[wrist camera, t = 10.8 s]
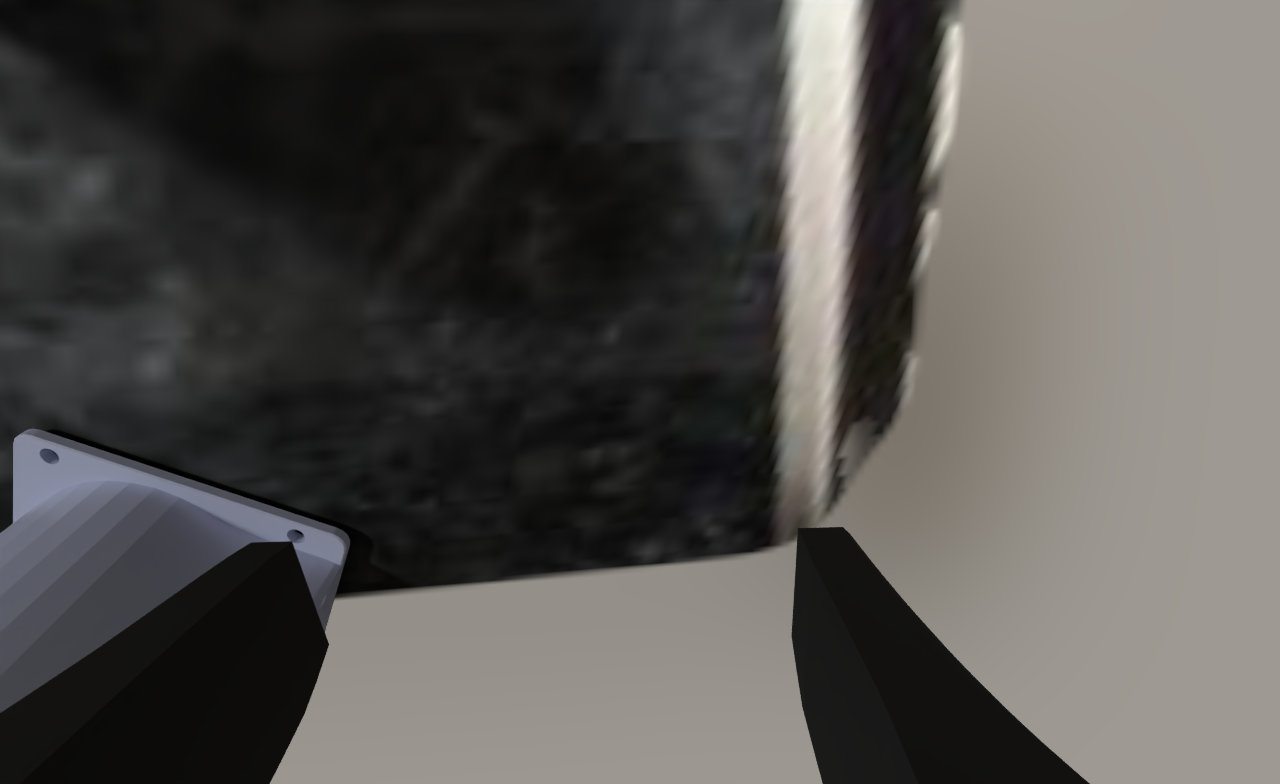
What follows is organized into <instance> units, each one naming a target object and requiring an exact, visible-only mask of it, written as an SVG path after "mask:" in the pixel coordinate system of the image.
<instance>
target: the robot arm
mask: <svg viewBox="0 0 1280 784" xmlns="http://www.w3.org/2000/svg"><path fill="white" fill-rule="evenodd" d="M53 451H54V452H55V453H56V454H55V453H54V452H53ZM295 530H299V531H300V532H302V533H303V534H304V535H301V534H299V533H297V532H296V531H295ZM349 547H350V539H349V537H348V535H347V534H346V533H345V532H344V531H343V530H341V529H339V528H336V527H333V526H330V525H327V524H324V523H321V522H318V521H315V520H312V519H309V518H306V517H303V516H300V515H297V514H294V513H291V512H288V511H285V510H282V509H279V508H276V507H273V506H270V505H267V504H263V503H260V502H257V501H254V500H251V499H248V498H245V497H242V496H239V495H236V494H233V493H230V492H227V491H224V490H221V489H218V488H215V487H212V486H209V485H206V484H203V483H200V482H197V481H194V480H191V479H188V478H185V477H182V476H179V475H176V474H173V473H169V472H166V471H163V470H160V469H157V468H154V467H151V466H148V465H145V464H142V463H139V462H136V461H133V460H130V459H127V458H124V457H121V456H118V455H115V454H112V453H109V452H106V451H103V450H100V449H97V448H94V447H91V446H88V445H85V444H82V443H78V442H75V441H72V440H69V439H66V438H63V437H60V436H57V435H54V434H51V433H48V432H45V431H42V430H38V429H29V430H26V431H25V432H23V433H22V434H20V435H19V436H17V437H16V438H15V440H14V443H13V524H12V525H10V526H9V527H8V528H7V529H5V530H4V531H3V532H1V533H0V784H270V782H271V780H272V778H273V776H274V774H275V772H276V770H277V768H278V766H279V764H280V762H281V760H282V758H283V756H284V754H285V752H286V750H287V748H288V746H289V744H290V742H291V740H292V738H293V736H294V734H295V732H296V730H297V728H298V726H299V724H300V722H301V720H302V718H303V716H304V714H305V711H306V708H307V705H308V703H309V700H310V698H311V695H312V692H313V690H314V687H315V684H316V682H317V679H318V676H319V673H320V670H321V667H322V664H323V661H324V658H325V655H326V652H327V649H328V646H329V643H328V640H327V638H326V635H325V629H326V626H327V622H328V619H329V615H330V612H331V609H332V605H333V602H334V598H335V595H336V591H337V588H338V585H339V581H340V578H341V574H342V571H343V567H344V564H345V561H346V557H347V554H348V550H349ZM792 641H793V649H794V655H795V662H796V669H797V675H798V682H799V688H800V694H801V701H802V707H803V711H804V715H805V718H806V722H807V726H808V730H809V733H810V737H811V741H812V745H813V749H814V753H815V756H816V760H817V764H818V768H819V771H820V775H821V779H822V783H823V784H1089V783H1088V782H1087V781H1086V780H1085V779H1083V778H1082V777H1081V776H1080V775H1079V774H1078V773H1077V772H1075V771H1074V770H1073V769H1072V768H1071V767H1070V766H1069V765H1067V764H1066V763H1065V762H1064V761H1063V760H1062V759H1061V758H1059V757H1058V756H1057V755H1056V754H1055V753H1054V752H1052V751H1051V750H1050V749H1049V748H1048V747H1047V746H1046V745H1045V744H1044V743H1042V742H1041V741H1040V740H1039V739H1038V738H1037V737H1036V736H1035V735H1034V734H1033V733H1032V732H1030V731H1029V730H1028V729H1027V728H1026V727H1025V726H1024V725H1023V724H1022V723H1021V722H1020V721H1019V720H1017V719H1016V718H1015V717H1014V716H1013V715H1012V714H1011V713H1010V712H1009V711H1008V710H1007V709H1006V708H1005V707H1004V706H1003V705H1002V704H1001V703H1000V702H999V701H998V700H997V699H996V698H995V697H994V696H993V695H992V694H991V693H990V692H989V691H988V690H987V689H986V688H985V687H984V686H983V685H982V684H981V683H980V682H979V681H978V680H977V679H976V678H975V677H973V675H972V674H971V673H970V672H969V671H968V670H967V669H966V668H965V667H964V666H963V665H962V664H961V663H960V662H959V661H958V660H957V659H956V658H955V657H954V655H953V654H952V653H950V651H949V650H948V649H947V648H946V647H945V646H944V645H943V644H942V642H941V641H940V640H939V639H938V638H937V637H936V636H935V635H934V634H933V633H932V632H931V630H930V629H929V628H928V627H927V626H926V625H925V624H924V623H923V622H922V620H921V619H920V618H919V617H918V616H917V615H916V614H915V613H914V612H913V610H912V609H911V608H910V607H909V606H908V605H907V603H906V602H905V601H904V600H903V599H902V598H901V597H900V595H899V594H898V593H897V592H896V591H895V589H894V588H893V587H892V586H891V585H890V583H889V582H888V581H887V580H886V579H885V577H884V576H883V575H882V574H881V572H880V571H879V570H878V569H877V568H876V567H875V565H874V564H873V563H872V562H871V560H870V559H869V558H868V556H867V555H866V554H865V553H864V551H863V550H862V549H861V548H860V546H859V545H858V544H857V542H856V541H855V540H854V539H853V537H852V536H851V535H850V533H848V532H847V531H846V530H845V529H844V528H843V527H829V528H798V538H797V555H796V573H795V589H794V606H793V623H792Z"/></svg>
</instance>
